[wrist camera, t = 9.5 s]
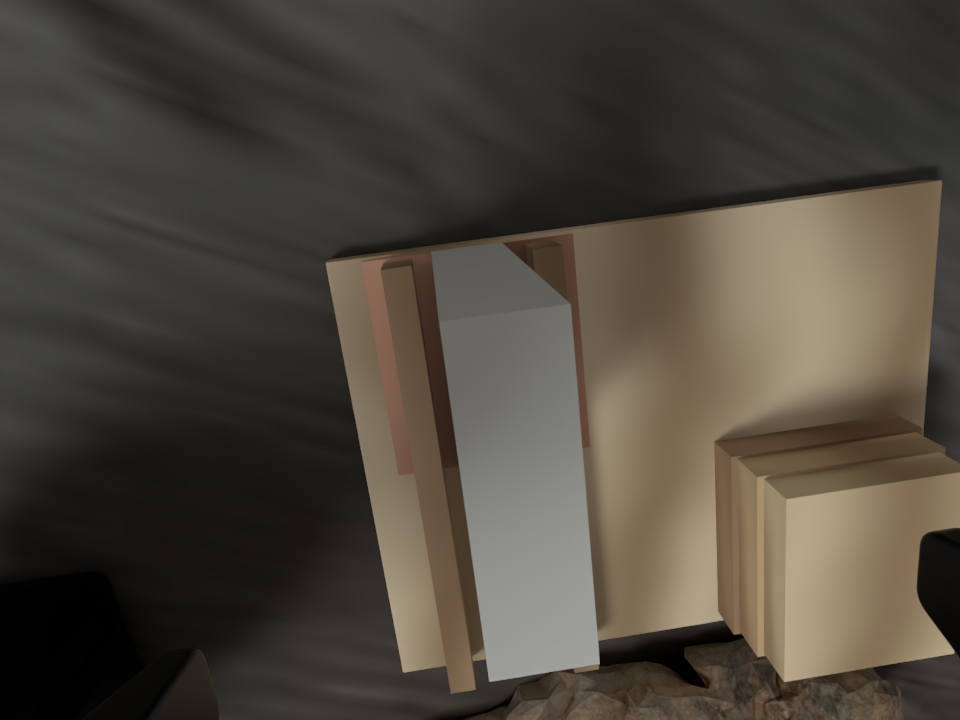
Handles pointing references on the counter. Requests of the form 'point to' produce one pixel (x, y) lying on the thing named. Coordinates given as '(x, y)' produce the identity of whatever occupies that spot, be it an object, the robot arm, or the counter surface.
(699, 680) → the craggy brown boulder
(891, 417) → the tan wooden square tile
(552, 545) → the panel
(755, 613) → the oak offcut
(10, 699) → the robot arm
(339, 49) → the counter surface
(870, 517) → the pine offcut
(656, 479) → the rack
